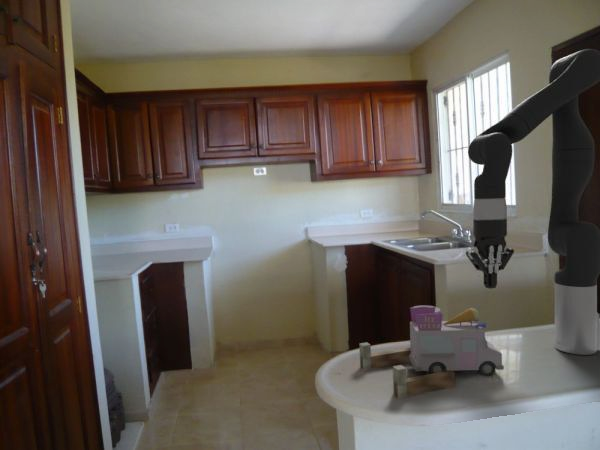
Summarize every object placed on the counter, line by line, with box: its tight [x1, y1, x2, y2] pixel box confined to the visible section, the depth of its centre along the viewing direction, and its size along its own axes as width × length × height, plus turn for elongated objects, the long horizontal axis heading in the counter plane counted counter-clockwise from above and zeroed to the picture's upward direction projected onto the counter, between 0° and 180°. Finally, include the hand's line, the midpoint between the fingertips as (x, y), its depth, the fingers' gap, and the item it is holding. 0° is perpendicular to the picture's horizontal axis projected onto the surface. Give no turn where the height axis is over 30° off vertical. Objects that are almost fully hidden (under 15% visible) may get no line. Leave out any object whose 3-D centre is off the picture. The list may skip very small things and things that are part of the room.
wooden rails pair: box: [359, 341, 456, 399], centre depth 101 cm, size 14×18×6 cm
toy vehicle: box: [409, 306, 505, 378], centre depth 102 cm, size 9×20×15 cm, turn 87°
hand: (490, 287), depth 107 cm, fingers closed
